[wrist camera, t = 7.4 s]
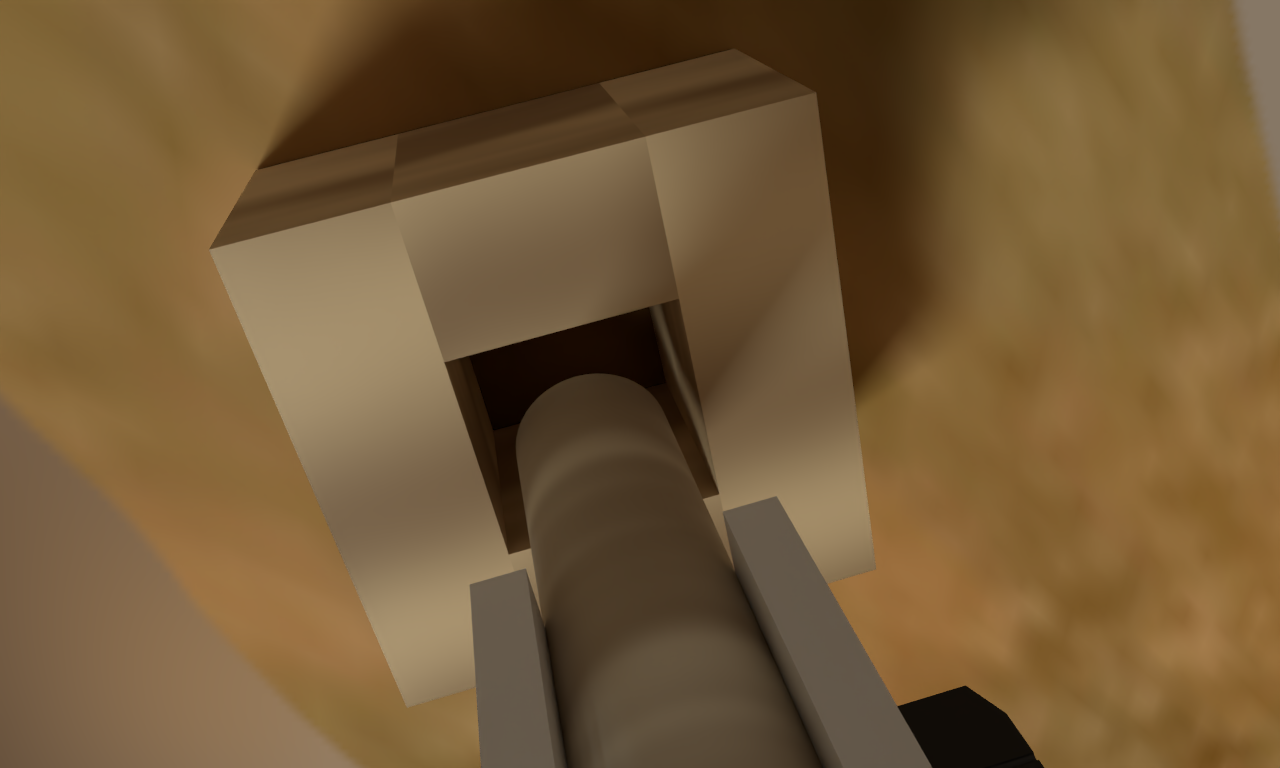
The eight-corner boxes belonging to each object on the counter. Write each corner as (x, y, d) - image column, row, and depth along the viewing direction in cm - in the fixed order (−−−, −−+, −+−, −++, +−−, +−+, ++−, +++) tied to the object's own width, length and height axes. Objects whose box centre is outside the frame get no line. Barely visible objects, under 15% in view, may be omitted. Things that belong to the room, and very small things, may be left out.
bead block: (255, 170, 20) (208, 249, 16) (734, 48, 21) (815, 92, 17) (410, 562, 25) (406, 707, 21) (799, 451, 26) (876, 569, 21)
